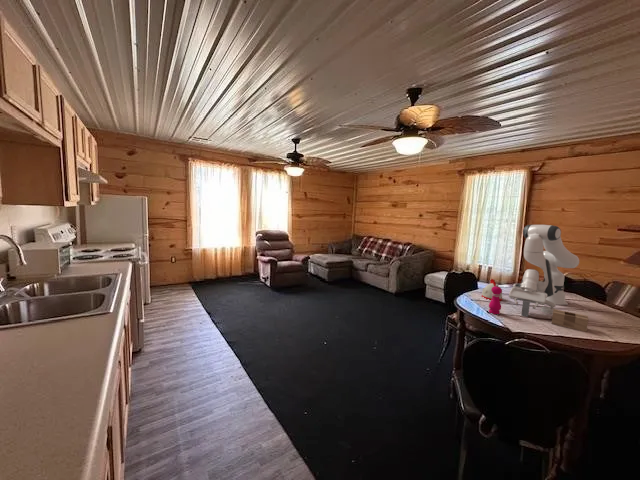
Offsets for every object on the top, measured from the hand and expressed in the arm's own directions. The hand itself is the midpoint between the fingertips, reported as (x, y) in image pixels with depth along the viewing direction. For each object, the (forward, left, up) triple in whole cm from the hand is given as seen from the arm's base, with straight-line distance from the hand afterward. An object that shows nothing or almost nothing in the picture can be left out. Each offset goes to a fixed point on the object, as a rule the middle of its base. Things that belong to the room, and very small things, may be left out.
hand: (525, 306), depth 189 cm
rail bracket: (0, 0, -6) cm, 6 cm away
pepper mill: (+10, -16, -6) cm, 20 cm away
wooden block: (+1, +22, -6) cm, 23 cm away
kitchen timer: (-26, -24, -6) cm, 36 cm away
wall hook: (-20, +11, -6) cm, 24 cm away
